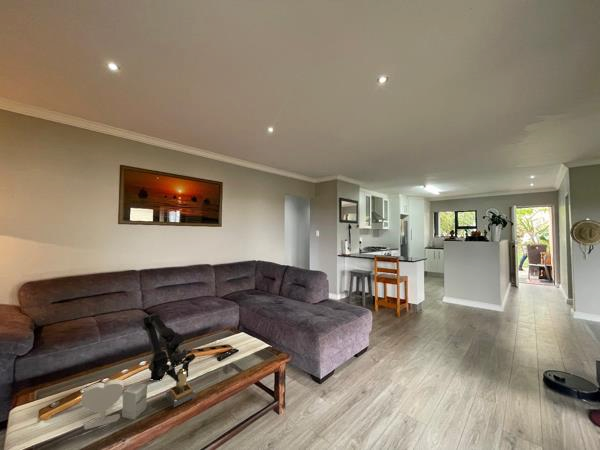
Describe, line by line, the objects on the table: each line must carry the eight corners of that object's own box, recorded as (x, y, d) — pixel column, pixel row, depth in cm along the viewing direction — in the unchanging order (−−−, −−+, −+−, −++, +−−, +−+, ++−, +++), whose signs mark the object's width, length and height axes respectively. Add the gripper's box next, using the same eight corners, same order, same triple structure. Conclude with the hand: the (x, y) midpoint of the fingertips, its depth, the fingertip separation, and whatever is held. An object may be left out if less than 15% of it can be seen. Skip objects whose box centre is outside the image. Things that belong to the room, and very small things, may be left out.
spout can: (174, 390, 135) (174, 368, 135) (183, 386, 139) (183, 364, 139) (179, 395, 132) (180, 373, 132) (188, 390, 136) (189, 368, 136)
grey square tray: (174, 408, 128) (174, 398, 128) (166, 397, 136) (166, 388, 136) (195, 397, 136) (195, 388, 136) (186, 388, 144) (187, 379, 144)
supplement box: (134, 420, 120) (135, 394, 120) (121, 417, 121) (122, 391, 121) (146, 408, 127) (147, 384, 127) (134, 406, 128) (135, 381, 128)
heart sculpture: (123, 412, 124) (124, 376, 124) (121, 419, 120) (123, 382, 119) (83, 422, 117) (84, 384, 117) (79, 431, 112) (81, 391, 112)
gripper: (161, 352, 130) (171, 382, 124) (194, 339, 145) (204, 365, 139) (153, 361, 135) (162, 390, 129) (186, 348, 150) (196, 373, 144)
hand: (182, 379), depth 135 cm, fingers closed on spout can, 5 cm apart
